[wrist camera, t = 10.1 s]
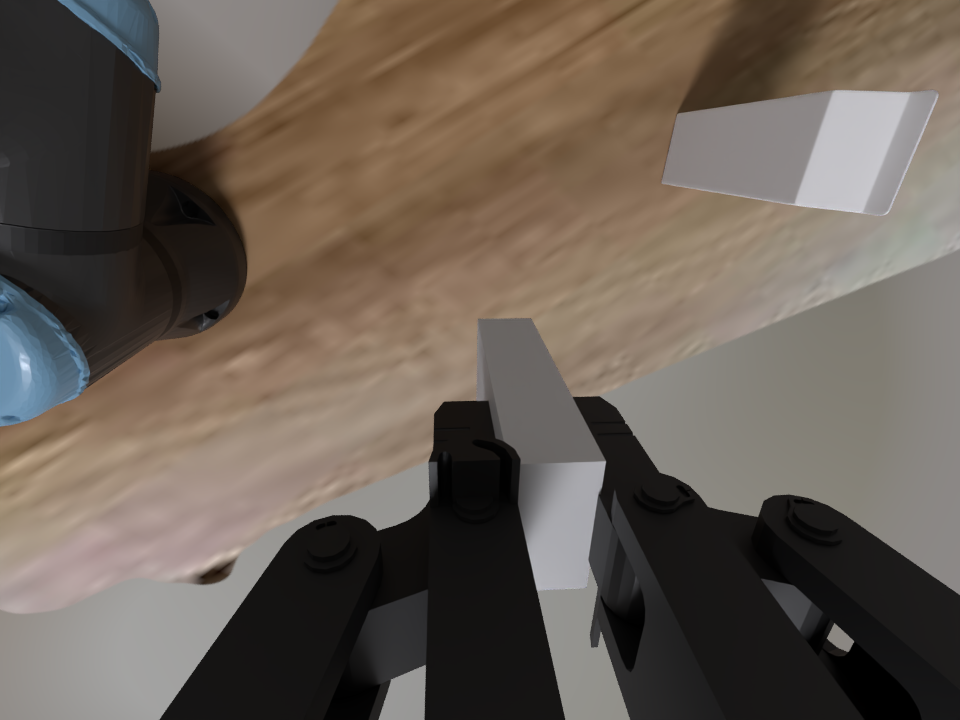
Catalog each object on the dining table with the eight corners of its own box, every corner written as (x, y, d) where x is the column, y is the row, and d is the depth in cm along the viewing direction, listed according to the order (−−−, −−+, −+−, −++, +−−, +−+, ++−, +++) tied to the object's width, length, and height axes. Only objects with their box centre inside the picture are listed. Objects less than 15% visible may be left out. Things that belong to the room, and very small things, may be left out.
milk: (738, 120, 43) (999, 93, 23) (718, 190, 45) (939, 221, 25) (674, 113, 42) (886, 79, 22) (658, 184, 45) (836, 212, 25)
